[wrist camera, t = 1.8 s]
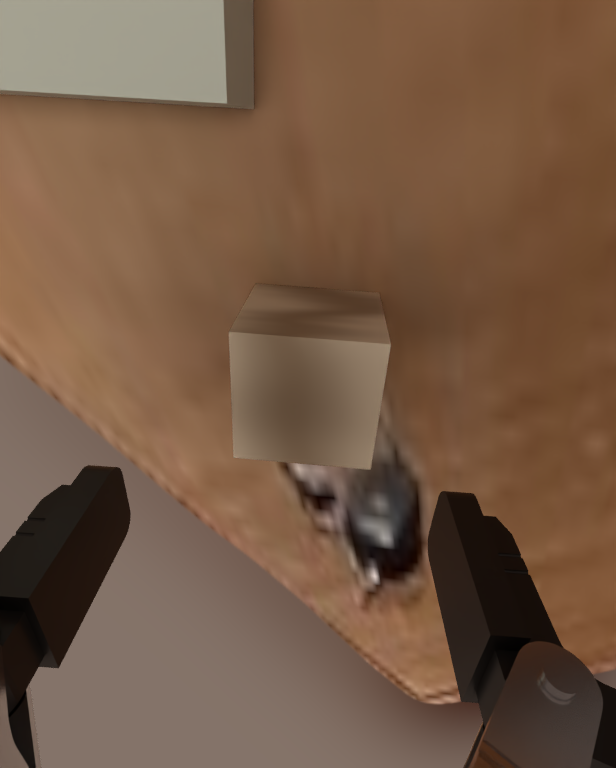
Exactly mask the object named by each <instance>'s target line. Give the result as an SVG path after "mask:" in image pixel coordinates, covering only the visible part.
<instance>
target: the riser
mask: <svg viewBox="0 0 616 768" xmlns="http://www.w3.org/2000/svg"><path fill="white" fill-rule="evenodd" d="M0 94H9V95H25V96H42V97H58V98H75V99H91V100H108V101H125V102H141V103H158V104H174V105H191V106H207V107H224V108H241V109H254V27H253V0H0Z"/></svg>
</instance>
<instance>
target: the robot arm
mask: <svg viewBox="0 0 616 768" xmlns="http://www.w3.org/2000/svg"><path fill="white" fill-rule="evenodd" d="M129 524H130V507H129V503H128V498H127V493H126V488H125V484H124V479H123V475H122V471H121V469H120V468H118V467H104V466H90V465H88V466H86V467H84V468H83V469H82V471H81V472H80V473H79V475H78V476H77V478H76V479H75V480H74V481H73V483H72V484H71V485H61V486H60V487H58V488H57V489H56V490H54V491H53V492H51V493H50V494H49V495H47V496H46V497H44V498H43V499H42V500H41V501H40V502H39V504H38V505H37V506H36V508H35V509H34V510H33V511H32V512H31V514H30V515H29V516H28V520H27V521H24V523H23V524H22V525H21V526H20V528H19V529H18V530H17V531H16V535H15V536H13V537H12V538H11V539H10V540H9V542H8V543H7V544H6V545H5V547H4V548H3V549H2V551H1V552H0V768H42V767H41V760H40V753H39V745H38V738H37V730H36V723H35V716H34V708H33V701H32V694H31V688H30V685H29V683H30V681H31V679H32V678H33V676H34V674H35V672H36V671H37V669H38V667H51V668H59V666H60V664H61V662H62V660H63V659H64V657H65V655H66V653H67V651H68V648H69V647H70V645H71V643H72V641H73V639H74V637H75V635H76V633H77V631H78V629H79V627H80V625H81V623H82V621H83V619H84V617H85V615H86V613H87V611H88V609H89V607H90V606H91V604H92V602H93V600H94V598H95V596H96V594H97V592H98V590H99V588H100V586H101V584H102V582H103V580H104V578H105V576H106V574H107V572H108V570H109V568H110V566H111V564H112V562H113V560H114V558H115V557H116V555H117V552H118V551H119V549H120V547H121V545H122V543H123V541H124V539H125V537H126V535H127V532H128V529H129ZM428 556H429V561H430V566H431V570H432V575H433V579H434V583H435V588H436V592H437V597H438V601H439V606H440V610H441V614H442V619H443V623H444V628H445V632H446V636H447V641H448V645H449V650H450V654H451V659H452V663H453V667H454V672H455V676H456V681H457V685H458V690H459V694H460V698H461V702H472V703H473V702H474V703H479V706H480V710H481V714H482V718H483V723H482V725H481V727H480V729H479V732H478V734H477V736H476V739H475V741H474V743H473V746H472V748H471V750H470V753H469V755H468V758H467V760H466V762H465V764H464V767H463V768H616V689H615V688H612V687H610V686H608V685H605V684H603V683H601V682H600V681H598V680H596V679H595V678H594V676H593V675H592V673H591V672H590V671H589V669H588V668H587V667H586V666H585V665H584V664H583V663H582V662H581V661H580V660H579V659H578V658H577V657H576V656H575V655H573V654H572V653H570V652H569V651H567V650H566V649H564V648H563V646H562V645H561V643H560V641H559V639H558V637H557V635H556V632H555V630H554V628H553V626H552V623H551V621H550V619H549V617H548V614H547V612H546V610H545V608H544V605H543V603H542V601H541V599H540V596H539V594H538V592H537V590H536V587H535V585H534V583H533V581H532V578H531V576H530V575H528V569H527V567H526V565H525V563H524V561H523V558H521V554H520V552H519V549H518V547H517V545H516V543H515V540H514V538H513V536H512V534H511V533H510V532H509V531H508V530H507V529H506V527H505V526H504V525H503V524H502V523H501V522H500V521H499V520H498V519H497V518H496V517H492V516H483V514H482V511H481V509H480V506H479V504H478V501H477V499H476V497H475V495H474V494H472V493H461V492H447V491H442V492H441V493H440V495H439V497H438V501H437V505H436V509H435V512H434V516H433V520H432V524H431V527H430V531H429V536H428Z"/></svg>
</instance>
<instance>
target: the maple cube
mask: <svg viewBox="0 0 616 768" xmlns="http://www.w3.org/2000/svg"><path fill="white" fill-rule="evenodd" d="M390 347H391V342H390V338H389V333H388V329H387V325H386V320H385V316H384V311H383V307H382V302H381V298H380V294H379V293H376V292H363V291H350V290H336V289H323V288H310V287H296V286H283V285H270V284H255V286H254V287H253V289H252V291H251V293H250V295H249V296H248V298H247V300H246V302H245V304H244V305H243V307H242V309H241V311H240V312H239V314H238V316H237V318H236V320H235V321H234V323H233V325H232V327H231V329H230V330H229V352H230V378H231V404H232V429H233V455H234V458H242V459H253V460H265V461H277V462H288V463H300V464H311V465H323V466H334V467H346V468H357V469H369V470H370V469H371V463H372V457H373V451H374V445H375V439H376V432H377V426H378V420H379V414H380V408H381V402H382V396H383V390H384V384H385V378H386V372H387V366H388V360H389V354H390Z"/></svg>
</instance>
